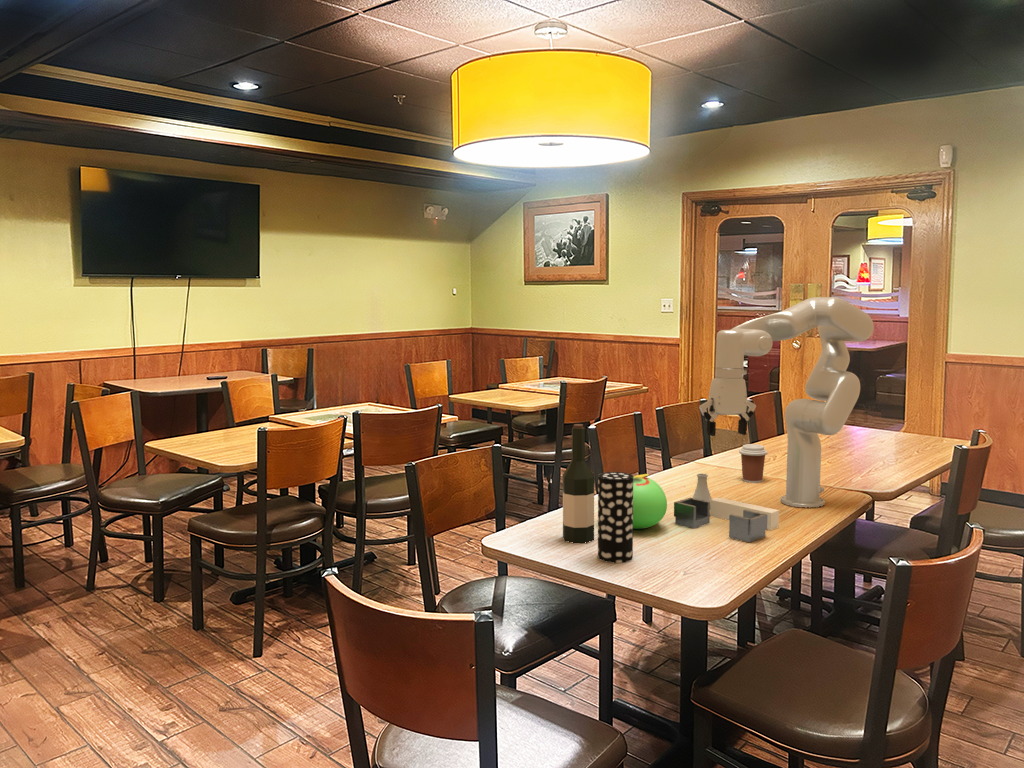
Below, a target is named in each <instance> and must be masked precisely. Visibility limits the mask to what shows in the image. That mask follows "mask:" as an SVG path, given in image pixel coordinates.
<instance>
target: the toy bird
mask: <svg viewBox="0 0 1024 768" xmlns="http://www.w3.org/2000/svg"><path fill="white" fill-rule="evenodd" d="M648 476H650V474H649V473H644V474H638V475H637V474H636V475H633V530H634V529H635V530H636V529H637V530H641V529H648V528H650V527H654V526H655V525H657V524H659V523H660V521H662V519H664V517H665V515H666V512H667V509H668V500H667V499H668V498H667V496H666V494H665V492H664V490H663V488H662V487H661V485H660V484H659V483H657V481H655V480H653V479H652V478H650V477H648Z"/></svg>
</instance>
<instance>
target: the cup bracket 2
mask: <svg viewBox="0 0 1024 768" xmlns="http://www.w3.org/2000/svg"><path fill="white" fill-rule="evenodd" d="M767 517H768V515H767V514H763V513H758V512H754V511H749V510H743V517H741V516H737V515H732V514H731V515H729V520H728V524H729V525H728V538H729V537H730V539H732V540H733V539H734V540H736V541H740V540H742V542H744V541H746V542H745V543H748V542H749V543H753V542H755V541H757V540H760V539H762V538H765V537H766V531H767Z"/></svg>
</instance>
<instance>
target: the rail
mask: <svg viewBox="0 0 1024 768" xmlns="http://www.w3.org/2000/svg"><path fill="white" fill-rule="evenodd" d="M743 510H749V511H754V512H758V513H763V514H767V515H768V517H767V529H768V531H772V529H773V530H775V528H776V529H778V528H779V527H780V526H779V523H780V510H779V509H775V508H770V507H766V506H762V505H761V506H760V505H757V504H750V503H747V502H741V501H739V500H738V501H737V500H734V499H729V498H728V499H727V498H724V497H715V498H711V505H710V517H714V518H717V519H721V518H722V519H721V520H725V519H726V521H729V515H731V514H732V515H737V516H741V517H743ZM777 527H778V528H777Z"/></svg>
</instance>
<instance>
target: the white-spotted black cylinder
mask: <svg viewBox="0 0 1024 768" xmlns="http://www.w3.org/2000/svg"><path fill="white" fill-rule="evenodd" d="M633 476H634V474H631V473H627V472H620V471H610V472H609V471H608V472H607V471H606V472H603V473H602V472H601V473H598V477H597V558H598V559H599V560H600V559H601V560H600V561H602V560H603V561H602V562H605V561H607V562H606V563H611V562H614V564H622V563H627V562H630V561H632V560H633V559H634V558H633V557H634V555H633V553H634V551H633V550H634V546H633V545H634V543H633V542H634V541H633V540H634V528H633Z"/></svg>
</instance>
